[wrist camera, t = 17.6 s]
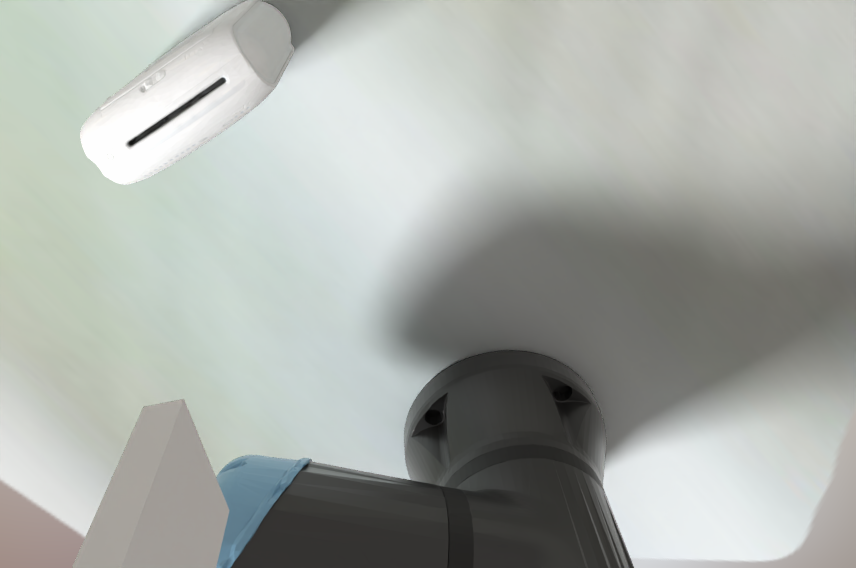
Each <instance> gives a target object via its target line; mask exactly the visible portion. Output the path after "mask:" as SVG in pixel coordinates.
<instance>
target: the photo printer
mask: <svg viewBox="0 0 856 568" xmlns="http://www.w3.org/2000/svg"><path fill="white" fill-rule="evenodd" d="M293 53H294V47H293V45H292V44H291V31H290V27H289V24H288V22H287V20H286V18H285V17H284V16H283V14H282V13H281V12H280V11H279V10H278V9H277V8H275V7H274V6H272V5H270V4H268V3H266V2H262V0H247V1H245V2H242V3H240V4H238V5H237V6H235V7H233V8H232V9H230V10H228V11H226V12H224V14H222V15H221V16H219V17H217V18H216V19H214V20H213V21H211V22H210V23H208V24H207V25H205V26H204V27H202V28H201V29H199V30H198V31H196V32H195V33H194V34H192V35H191V36H189V37H188V38H186V39H185V40H184V41H182V42H181V43H179V44H178V45H176V46H175V47H174V48H172V49H171V50H170V51H168V52H167V53H165V54H164V55H163V56H161V57H160V58H159V59H157V60H156V61H155V62H153V63H152V64H150V65H149V66H148V67H147V68H146V69H145V70H143V71H142V72H141V73H140V74H139V75H137V76H136V77H135V78H134V79H133V80H131V81H130V82H129V83H128V84H126V85H125V86H124V87H123V88H122V89H120V90H119V91H118V92H116V93H115V94H114V95H112V96H111V97H109V98H108V99H107V100H106V101H105V102H104V103H103V104H102V105H101V106H100V107H98V108H97V109H96V110H95V111H94V112H93V113H92V114H91V115H90V117H89V118H88V119H87V120H86V122H85V123H84V124H83V126H82V128H81V131H80V139H81V143H82V147H83V149H84V152H85V154H86V155H87V157H88V158H89V159H90V160H92V161H93V162H94V163H95V164H96V165H97V166H98V167H99V169H100V170H101V172H102V173H103V175H104V176H106V177H107V178H108V179H110V180H112V181H114V182H116V183H119V184H126V185H127V184H131V183H135V182H138V181H142V180H144V179H147V178H149V177H151V176H153V175H155V174H157V173H159V172H160V171H162V170H164V169H166V168H167V167H169V166H171V165H172V164H174V163H176V162H177V161H179V160H181V159H182V158H184V157H185V156H187V155H189V154H190V153H192V152H193V151H195V150H196V149H198V148H199V147H201V146H202V145H204V144H206V143H207V142H209V141H210V140H211V139H213V138H214V137H216V136H217V135H219V134H220V133H222V132H223V131H224V130H226V129H227V128H229V127H230V126H232V125H233V124H234V123H236V122H237V121H238V120H240V119H241V118H242V117H244V116H245V115H246V114H248V113H249V112H250V111H252V110H253V109H254V108H255V107H257V106H258V105H259V104H260V103H261V102H262V101H263V100H264V99H266V97H267V96H268V95H269V94H270V93H271V92H272V91H273V90H274V88H275V87H276V86H277V84H278V82H279V80H280V78H281V76H282V74H283V72H284V71H285V69H286V67H287V65H288V63H289V61H290V59H291V57H292V55H293Z"/></svg>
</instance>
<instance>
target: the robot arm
mask: <svg viewBox="0 0 856 568" xmlns="http://www.w3.org/2000/svg"><path fill="white" fill-rule="evenodd" d="M404 447H405V461H406V466H407V470H408V473H409V477H410V479H411V480H407V479H401V478H395V477H390V476H384V475H379V474H374V473H369V472H363V471H358V470H353V469H347V468H342V467H337V466H332V465H326V464H321V463H316V462H312V460H311V459H309V458H302V459H300V460H291V459H282V458H274V457H267V456H259V455H245V456H242V457H238V458H236V459H234V460H232V461H231V462H229V463H228V464H227V465H226V466H225V467H224V468H223V469H222V470H221V471H220V472H219V474H218V475H217V477H216V476H215V474H214V471H213V469H212V466H211V464H210V461H209V459H208V457H207V454H206V452H205V449H204V447H203V444H202V442H201V440H200V437H199V435H198V432H197V430H196V427H195V425H194V422H193V420H192V418H191V415H190V413H189V410H188V408H187V405H186V403H185V400H184V399H181V400H176V401H171V402H166V403H160V404H155V405H150V406H145V407H143V409H142V411H141V413H140V416H139V418H138V420H137V422H136V425H135V427H134V429H133V431H132V434H131V436H130V438H129V440H128V443H127V445H126V447H125V449H124V452H123V454H122V456H121V458H120V461H119V463H118V465H117V467H116V470H115V472H114V474H113V476H112V479H111V481H110V483H109V485H108V488H107V490H106V492H105V494H104V497H103V499H102V501H101V503H100V506H99V508H98V510H97V512H96V515H95V517H94V519H93V522H92V524H91V526H90V528H89V531H88V533H87V535H86V537H85V540H84V542H83V544H82V546H81V549H80V551H79V553H78V555H77V558H76V560H75V562H74V565H73V567H72V568H634V566H633V564H632V561H631V558H630V556H629V553H628V551H627V548H626V546H625V543H624V540H623V538H622V535H621V533H620V530H619V528H618V525H617V523H616V520H615V517H614V515H613V512H612V510H611V507H610V504H609V502H608V499H607V497H606V494H605V492H604V489H603V477H604V465H605V453H606V432H605V425H604V421H603V418H602V415H601V412H600V410H599V407H598V405H597V403H596V400H595V398H594V396H593V394H592V392H591V390H590V389H589V387H588V386H587V384H586V383H585V382H584V381H583V380H582V378H581V377H580V376H579V375H578V374H576V373H575V372H574V371H573V370H571V369H570V368H569V367H567V366H566V365H564V364H562V363H560V362H558V361H556V360H554V359H552V358H549V357H546V356H543V355H540V354H536V353H531V352H524V351H497V352H490V353H485V354H480V355H477V356H473V357H470V358H468V359H465V360H463V361H460V362H458V363H456V364H454V365H452V366H450V367H449V368H447V369H445V370H444V371H442V372H441V373H440V374H438V375H437V376H436V377H435V378H433V379H432V380H431V381H430V382H429V383H428V384H427V385H426V386H425V387H424V388H423V390H422V391H421V392H420V393H419V395H418V396H417V398H416V399H415V401H414V403H413V404H412V406H411V408H410V411H409V413H408V416H407V419H406V423H405V429H404Z"/></svg>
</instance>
